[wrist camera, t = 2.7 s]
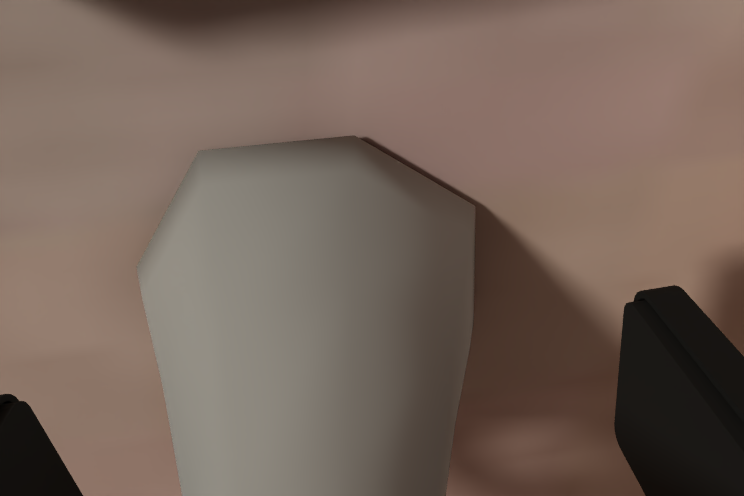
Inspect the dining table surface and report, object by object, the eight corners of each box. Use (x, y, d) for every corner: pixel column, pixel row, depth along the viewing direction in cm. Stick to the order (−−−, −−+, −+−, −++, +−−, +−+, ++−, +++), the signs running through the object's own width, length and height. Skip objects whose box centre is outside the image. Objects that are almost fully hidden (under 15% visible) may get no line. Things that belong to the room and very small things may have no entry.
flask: (528, 168, 12) (1039, 804, 4) (425, 427, 16) (567, 1079, 7) (154, 87, 11) (-418, 814, 2) (128, 391, 14) (-148, 1155, 6)
